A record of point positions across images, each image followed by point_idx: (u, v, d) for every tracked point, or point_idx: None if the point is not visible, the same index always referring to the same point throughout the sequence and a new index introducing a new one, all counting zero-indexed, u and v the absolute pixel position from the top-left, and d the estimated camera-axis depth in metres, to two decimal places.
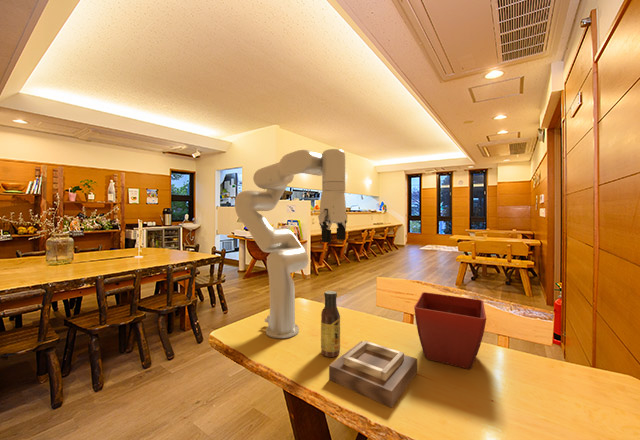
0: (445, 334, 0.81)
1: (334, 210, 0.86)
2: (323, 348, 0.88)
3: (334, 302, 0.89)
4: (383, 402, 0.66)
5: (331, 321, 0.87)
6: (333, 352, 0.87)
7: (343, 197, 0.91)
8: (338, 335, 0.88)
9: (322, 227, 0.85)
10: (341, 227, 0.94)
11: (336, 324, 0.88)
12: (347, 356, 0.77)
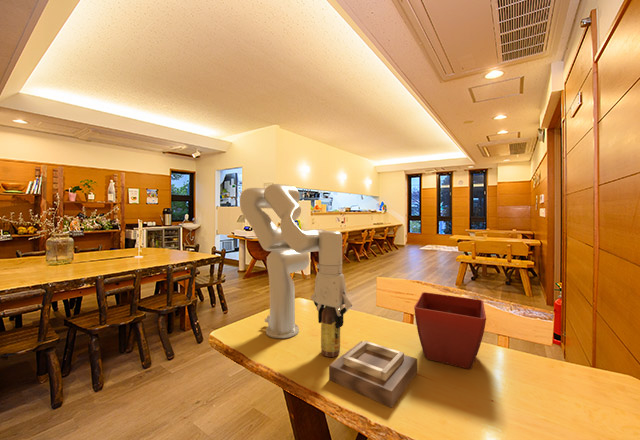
0: (445, 334, 0.81)
1: None
2: (323, 348, 0.88)
3: None
4: (383, 402, 0.66)
5: (331, 322, 0.87)
6: (333, 352, 0.87)
7: None
8: (338, 335, 0.88)
9: (343, 313, 0.87)
10: None
11: None
12: (347, 356, 0.77)
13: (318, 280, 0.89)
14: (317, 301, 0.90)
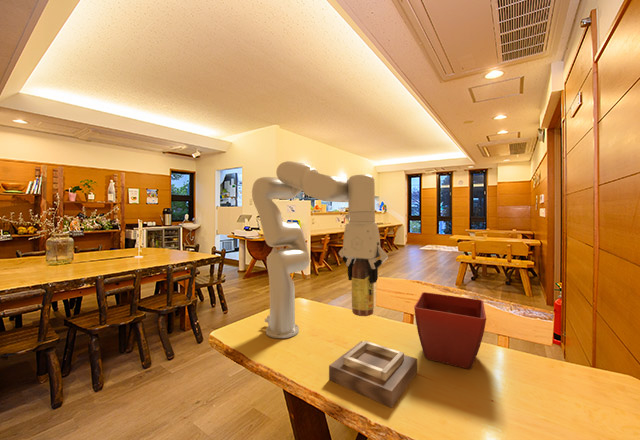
0: (445, 334, 0.81)
1: None
2: (355, 306, 0.78)
3: None
4: (383, 402, 0.66)
5: (364, 276, 0.77)
6: (367, 310, 0.77)
7: None
8: (372, 292, 0.78)
9: (378, 266, 0.77)
10: None
11: None
12: (347, 356, 0.77)
13: (348, 231, 0.79)
14: (347, 255, 0.80)
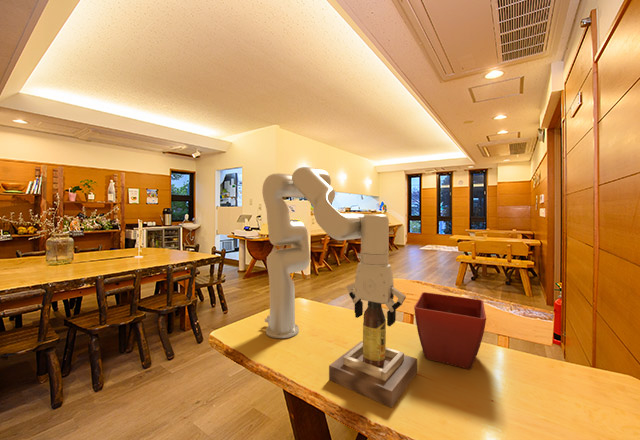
0: (445, 335, 0.81)
1: None
2: (367, 356, 0.75)
3: None
4: (383, 402, 0.66)
5: (377, 325, 0.75)
6: (378, 361, 0.75)
7: None
8: (384, 341, 0.76)
9: (396, 308, 0.73)
10: (360, 301, 0.80)
11: (382, 328, 0.75)
12: (347, 356, 0.77)
13: (360, 272, 0.76)
14: (359, 296, 0.77)
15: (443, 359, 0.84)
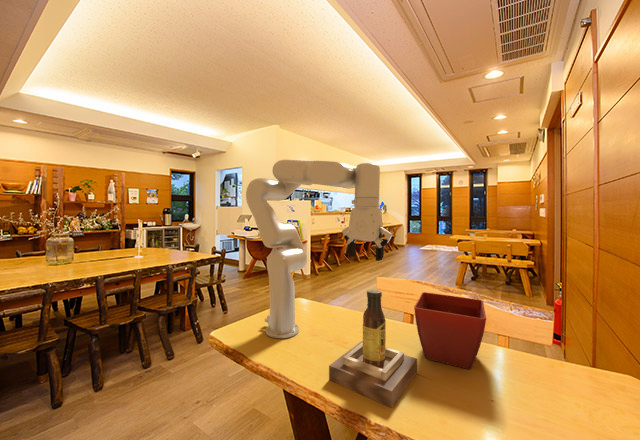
0: (445, 335, 0.81)
1: None
2: (366, 356, 0.75)
3: (379, 303, 0.76)
4: (383, 402, 0.66)
5: (376, 325, 0.74)
6: (378, 361, 0.75)
7: None
8: (384, 341, 0.76)
9: (384, 245, 0.83)
10: (353, 243, 0.90)
11: (382, 328, 0.75)
12: (347, 356, 0.77)
13: (353, 214, 0.87)
14: (352, 236, 0.87)
15: (443, 359, 0.84)
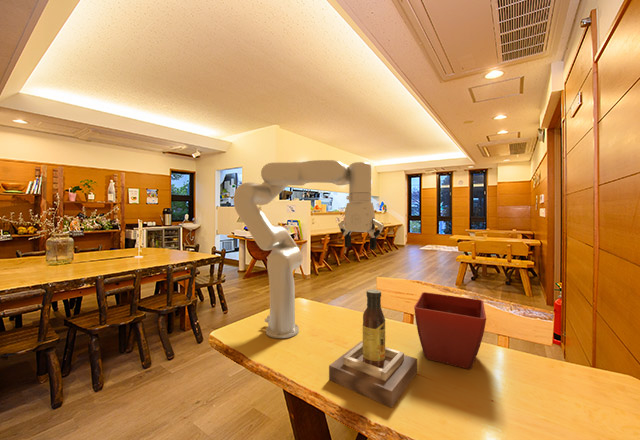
0: (445, 334, 0.81)
1: None
2: (366, 356, 0.75)
3: (379, 303, 0.76)
4: (383, 402, 0.66)
5: (376, 325, 0.75)
6: (378, 361, 0.75)
7: None
8: (384, 341, 0.76)
9: (376, 235, 0.92)
10: (349, 235, 0.99)
11: (382, 328, 0.75)
12: (347, 356, 0.77)
13: (348, 209, 0.96)
14: (347, 229, 0.96)
15: (443, 359, 0.84)
